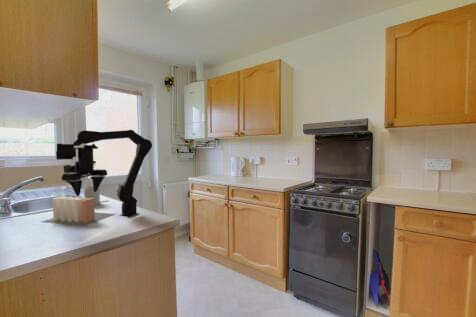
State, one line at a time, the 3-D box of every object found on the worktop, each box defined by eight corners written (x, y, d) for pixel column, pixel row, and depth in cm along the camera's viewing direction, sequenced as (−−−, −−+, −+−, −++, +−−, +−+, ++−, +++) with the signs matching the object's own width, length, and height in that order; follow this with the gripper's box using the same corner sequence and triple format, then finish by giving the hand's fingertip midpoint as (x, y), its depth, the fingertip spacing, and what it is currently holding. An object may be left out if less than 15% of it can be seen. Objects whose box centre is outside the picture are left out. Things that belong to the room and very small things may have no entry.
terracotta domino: (94, 219, 106) (94, 198, 105) (85, 222, 101) (84, 200, 100) (91, 219, 106) (91, 197, 106) (82, 222, 101) (81, 200, 101)
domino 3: (80, 218, 108) (79, 197, 107) (70, 221, 103) (69, 199, 102) (77, 217, 108) (77, 196, 107) (67, 221, 103) (66, 199, 103)
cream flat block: (73, 217, 109) (72, 196, 108) (63, 220, 104) (62, 199, 103) (70, 217, 109) (70, 196, 108) (60, 220, 104) (59, 198, 103)
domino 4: (87, 218, 107) (86, 197, 106) (77, 222, 102) (77, 200, 101) (84, 218, 107) (84, 197, 107) (75, 222, 102) (74, 199, 102)
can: (81, 206, 131) (80, 185, 130) (93, 203, 138) (92, 183, 137) (91, 207, 129) (90, 186, 128) (103, 204, 136) (102, 184, 135)
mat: (116, 215, 114) (116, 214, 114) (84, 227, 97) (84, 226, 97) (76, 212, 120) (76, 210, 120) (40, 223, 102) (40, 221, 102)
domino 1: (66, 217, 109) (66, 196, 109) (56, 220, 105) (55, 198, 104) (64, 216, 110) (63, 196, 109) (53, 220, 105) (52, 198, 104)
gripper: (87, 157, 113) (88, 189, 114) (50, 160, 95) (51, 197, 95) (107, 158, 111) (108, 190, 112) (72, 160, 92) (74, 198, 93)
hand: (86, 193), depth 103 cm, fingers open, 9 cm apart
